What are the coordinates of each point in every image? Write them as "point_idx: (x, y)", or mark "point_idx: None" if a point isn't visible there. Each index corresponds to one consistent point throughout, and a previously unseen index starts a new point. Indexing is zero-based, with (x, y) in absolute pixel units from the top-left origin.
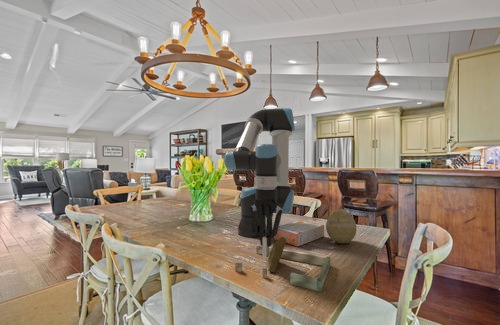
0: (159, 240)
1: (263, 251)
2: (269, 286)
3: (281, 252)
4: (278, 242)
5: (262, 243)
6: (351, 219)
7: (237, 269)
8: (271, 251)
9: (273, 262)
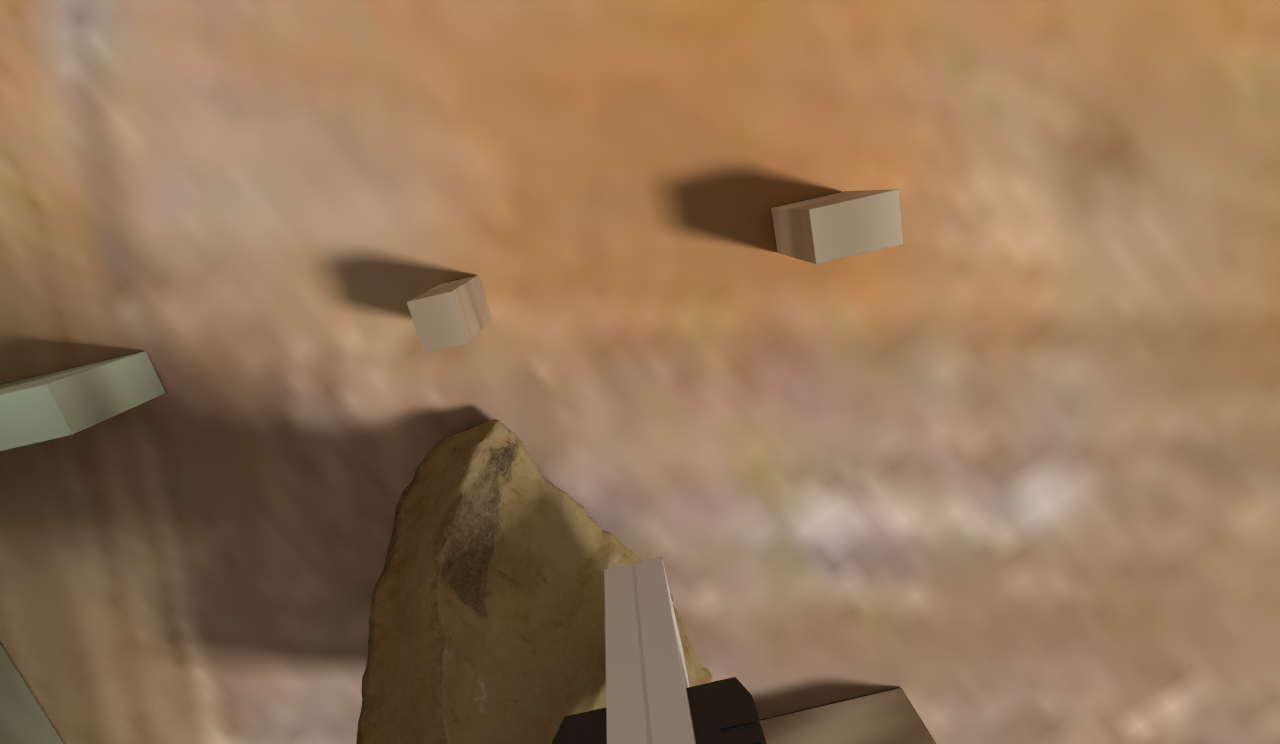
0: None
1: (652, 603)
2: (282, 159)
3: (366, 714)
4: None
5: (709, 716)
6: None
7: (821, 198)
8: (575, 687)
9: (434, 510)
